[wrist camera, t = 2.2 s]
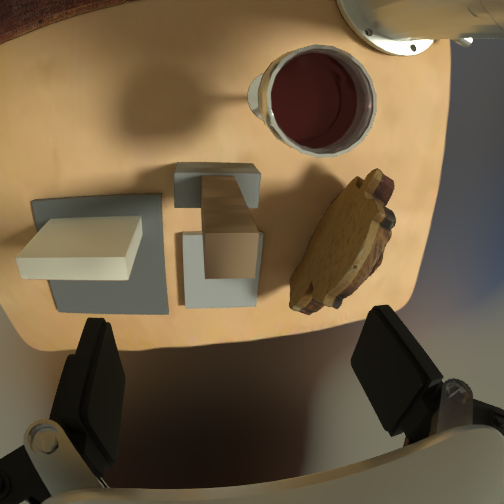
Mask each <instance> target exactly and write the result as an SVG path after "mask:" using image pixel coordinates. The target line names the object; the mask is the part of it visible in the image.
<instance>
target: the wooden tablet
mask: <svg viewBox="0 0 504 504" xmlns="http://www.w3.org/2000/svg"><path fill="white" fill-rule="evenodd" d="M126 1H134V0H0V44H1V43H3V42H5V41H8V40H10V39H13V38H15V37H17V36H20V35H22V34H25V33H27V32H30V31H32V30H34V29H37V28H40V27H42V26H45V25H48V24H51V23H54V22H57V21H60V20H63V19H66V18H69V17H72V16H75V15H79V14H82V13H85V12H89V11H93V10H96V9H100V8H104V7H108V6H112V5H117V4H121V3H124V2H126Z"/></svg>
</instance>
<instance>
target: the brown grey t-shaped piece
mask: <svg viewBox="0 0 504 504" xmlns="http://www.w3.org/2000/svg"><path fill="white" fill-rule="evenodd" d="M260 180H261V173H260V172H259V171H258V169H257V168H256V167H255V166H254V164H251V163H217V162H177V165H176V169H175V172H174V208H201V218H202V238H203V256H204V272H205V279H238V278H255V271H256V261H257V250H258V240H259V231H258V229H257V227H256V224H255V222H254V220H253V218H252V215H251V213H250V211H249V208H258V202H259V191H260Z"/></svg>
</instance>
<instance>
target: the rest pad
mask: <svg viewBox="0 0 504 504" xmlns="http://www.w3.org/2000/svg"><path fill="white" fill-rule="evenodd" d="M263 236H264V235H263V233H262V232H259V240H258V250H257V261H256V271H255V278H238V279H205V272H204V256H203V238H202V232H183V268H184V291H185V309H191V308H232V307H256V302H257V293H258V284H259V274H260V265H261V255H262V246H263Z"/></svg>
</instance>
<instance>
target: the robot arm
mask: <svg viewBox="0 0 504 504" xmlns="http://www.w3.org/2000/svg"><path fill="white" fill-rule="evenodd" d="M336 1H337V5H338V8H339V10H340V12H341V14H342V16H343V18H344V19H345V21H346V22H347V23H348V25H349V26H350V28H351V29H352V30H353V31H354V32H355V33H356V34H357V35H358V36H359V37H360V38H361V39H362V40H363V41H365V42H366V43H367V44H368V45H370V46H372V47H373V48H375V49H376V50H379V51H381V52H383V53H386V54H389V55H394V56H413V55H416V54H419V53H422V52H423V51H425V50H426V49H427V48H428V47H429V46H430V45H431V44H432V42H433V41H434V40H437V39H452V40H453V41H455V42H456V43H458V44H460V45H462V46H464V47H468V46H470V44H471V43H472V38H494V39H504V0H336ZM365 32H366V33H365ZM351 366H352V368H353V370H354V372H355V374H356V376H357V378H358V380H359V382H360V383H361V385H362V387H363V389H364V391H365V393H366V395H367V397H368V399H369V401H370V402H371V405H372V406H373V408H374V410H375V412H376V414H377V416H378V418H379V420H380V422H381V424H382V426H383V428H384V429H385V430H386V431H388V432H389V434H390V436H391V437H393V436H396V435H398V434H401V433H402V432H404V433H405V435H406V437H405V441H404V445H403V447H402V448H399V449H397V450H394V451H391V452H388V453H386V454H383V455H380V456H377V457H374V458H371V459H367V460H364V461H361V462H358V463H355V464H351V465H347V466H343V467H340V468H336V469H332V470H328V471H324V472H320V473H315V474H311V475H306V476H301V477H296V478H291V479H286V480H280V481H274V482H267V483H260V484H253V485H244V486H234V487H223V488H207V489H174V490H171V489H170V490H168V489H167V490H165V489H160V490H159V489H125V488H109V487H108V486H107V485H106V483H105V482H104V481H103V480H102V478H101V477H103V476H104V469H108V470H112V465H113V463H117V461H118V449H119V435H120V425H121V424H120V423H121V415H122V405H123V397H124V389H125V374H124V370H123V367H122V364H121V360H120V357H119V353H118V350H117V346H116V343H115V339H114V335H113V331H112V327H111V324H110V323H109V322H106V321H105V319H104V318H88V319H87V321H86V323H85V326H84V329H83V332H82V335H81V338H80V341H79V344H78V347H77V350H76V353H75V355H74V354H70V355H69V356H68V357H67V359H66V362H65V365H64V369H63V372H62V375H61V378H60V382H59V385H58V388H57V392H56V395H55V399H54V403H53V407H52V410H51V414H50V418H49V419H40V420H37V421H34V422H33V423H32V424H30V425H29V426H28V428H27V429H26V430H25V433H24V441H23V442H24V445H22V446H21V447H19V448H18V449H16V450H14V451H13V452H11V453H9V454H8V455H6V456H5V457H3V458H1V459H0V504H504V410H503V409H500V408H498V407H495V406H492V405H489V404H486V403H484V402H481V401H478V400H475V399H473V393H472V390H471V388H470V387H469V386H468V385H467V384H466V383H465V382H463V381H462V380H459V379H455V378H453V379H448V380H447V381H445V382H444V383H443V382H442V379H443V375H442V374H441V372H440V371H439V370H438V368H437V367H436V366H435V364H434V363H433V362H432V360H431V359H430V357H429V356H428V355H427V353H426V352H425V351H424V349H423V348H422V347H421V345H420V344H419V343H418V342H417V340H416V339H415V338H414V336H413V335H412V334H411V333H410V331H409V330H408V329H407V327H406V326H405V325H404V324H403V322H402V321H401V320H400V318H399V317H398V316H397V314H396V313H395V312H394V311H393V309H392V308H391V307H390V306H389V305H379V306H374V307H373V308H372V310H370V311H369V313H368V315H367V318H366V321H365V324H364V326H363V329H362V332H361V335H360V337H359V340H358V343H357V345H356V348H355V350H354V353H353V355H352V358H351Z"/></svg>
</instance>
